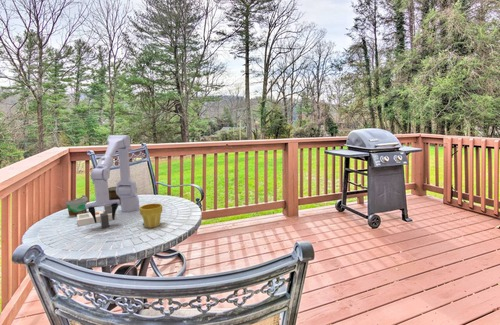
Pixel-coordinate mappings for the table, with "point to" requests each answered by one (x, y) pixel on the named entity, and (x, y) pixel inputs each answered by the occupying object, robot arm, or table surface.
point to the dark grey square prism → (104, 220)
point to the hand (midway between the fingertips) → (104, 220)
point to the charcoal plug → (108, 209)
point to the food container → (77, 206)
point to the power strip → (91, 218)
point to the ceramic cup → (113, 194)
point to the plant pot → (151, 214)
